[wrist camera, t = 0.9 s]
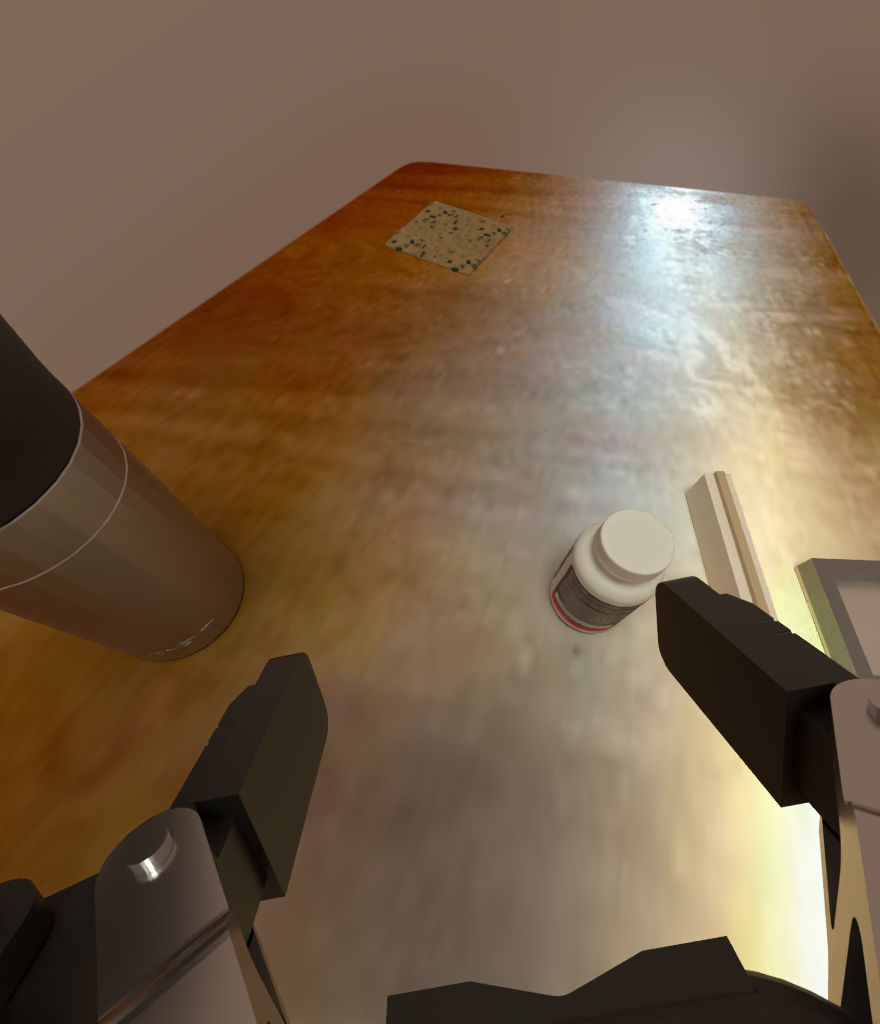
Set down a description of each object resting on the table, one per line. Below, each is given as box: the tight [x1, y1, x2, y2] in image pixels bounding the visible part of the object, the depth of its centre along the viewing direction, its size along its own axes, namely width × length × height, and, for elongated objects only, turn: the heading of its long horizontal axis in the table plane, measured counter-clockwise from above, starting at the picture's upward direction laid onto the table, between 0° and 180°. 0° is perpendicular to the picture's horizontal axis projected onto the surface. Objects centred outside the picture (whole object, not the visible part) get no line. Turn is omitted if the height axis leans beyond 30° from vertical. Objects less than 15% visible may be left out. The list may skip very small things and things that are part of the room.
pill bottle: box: [550, 510, 675, 633], centre depth 28 cm, size 5×5×10 cm
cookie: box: [385, 201, 514, 276], centre depth 55 cm, size 12×12×1 cm
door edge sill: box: [686, 471, 778, 621], centre depth 31 cm, size 20×2×3 cm, turn 178°
